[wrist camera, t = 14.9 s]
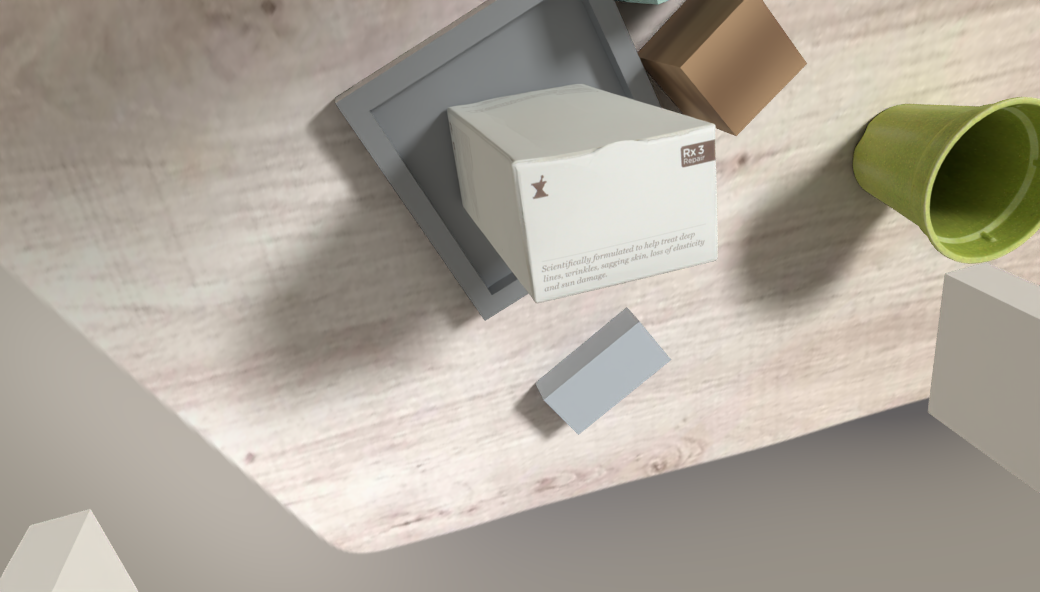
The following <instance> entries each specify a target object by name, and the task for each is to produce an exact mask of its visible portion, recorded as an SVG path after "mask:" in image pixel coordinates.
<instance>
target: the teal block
mask: <svg viewBox="0 0 1040 592" xmlns="http://www.w3.org/2000/svg"><path fill="white" fill-rule="evenodd" d="M614 1H620V2H633V3H646V4H661V3H663V2H665V1H668V0H614Z"/></svg>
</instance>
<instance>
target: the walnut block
mask: <svg viewBox="0 0 1040 592" xmlns="http://www.w3.org/2000/svg"><path fill="white" fill-rule="evenodd" d="M638 55H639V58H640V60H641V62H642V65H643V67H644V68H645V69H646V70H647V72H648V73H649V74H650V75H651V76H652V77H653V79H654V80H655V81H656V82H657V83H658V85H659V86H660V87H661V88H662V89H663V90H664V92H665V93H666V94H667V95H668V96H669V97H670V99H671V100H672V101H673V102H674V103H675V105H676V106H677V107H678V108H679V109H680V110H681V112H682V113H683V114H684V115H686V116H690V117H693V118H696V119H699V120H703V121H706V122H709V123H713V124H715V126H716V128H717V129H719V130H722V131H724V132H727V133H730V134H732V135H735V136H737V135H738V134H739V133H740V132H741V131H742V130H743V129H744V128H745V127H746V126H747V125H748V124H749V123H750V122H751V120H752V119H753V118H754V117H755V116H756V115H757V114H758V113H759V112H760V111H761V110H762V109H763V108H764V107H765V106H766V105H767V104H768V103H769V102H770V101H771V100H772V99H773V98H774V97H775V96H776V95H777V94H778V93H779V92H780V91H781V90H782V89H783V88H784V87H785V86H786V85H787V84H788V83H789V82H790V81H791V80H792V79H793V77H794V76H795V75H796V74H797V73H798V72H799V71H800V70H801V69H802V68H803V67H804V66H805V65H806V64H807V63H806V61H805V60H804V59H803V57H802V56H801V54H800V53H799V52H798V50H797V49H796V47H795V46H794V44H793V43H792V42H791V40H790V39H789V37H788V36H787V34H786V33H785V32H784V30H783V29H782V27H781V26H780V25H779V23H778V22H777V20H776V19H775V17H774V16H773V15H772V13H771V12H770V10H769V9H768V7H767V6H766V5H765V3H764V2H763V0H686V1H685V2H684V4H683V5H682V6H681V7H680V8H679V9H678V10H677V11H676V12H675V13H674V14H673V15H672V16H671V18H670V19H669V20H668V21H667V22H666V23H665V24H664V25H663V26H662V27H661V28H660V29H659V30H658V31H657V33H656V34H655V35H654V36H653V37H652V38H651V39H650V40H649V41H648V42H647V43H646V44H645V45H644V47H643V48H642V49H641V50H640V51H639V52H638Z"/></svg>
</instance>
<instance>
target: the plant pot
mask: <svg viewBox="0 0 1040 592" xmlns="http://www.w3.org/2000/svg"><path fill="white" fill-rule="evenodd" d="M853 170H854V175H855V178H856V180H857V182H858V183H859V185H860V186H861V187H862V188H863V189H864V190H865V191H866V192H868V193H869V194H871V195H872V196H874V197H875V198H877V199H879V200H880V201H882V202H883V203H885V204H886V205H888V206H889V207H891V208H893V209H894V210H896V211H897V212H899V213H900V214H902V215H903V216H904V217H906V218H907V219H909V220H910V221H912V222H913V223H915V224H916V225H918V226H919V227H920V229H921V230H922V231H923V233H924V234H925V235H927V237H928V238H929V240H930V242H931V244H932V245H933V246H934V247H935V249H936V250H937V251H939V252H940V253H941V254H942V255H944V256H946V257H947V258H949V259H952V260H954V261H957V262H961V263H968V264H973V263H982V262H987V261H991V260H995V259H997V258H1000V257H1002V256H1004V255H1006V254H1008V253H1010V252H1011V251H1013V250H1015V249H1016V248H1018V247H1019V246H1021V245H1022V244H1023V243H1025V242H1026V241H1027V240H1028V239H1029V238H1030V237H1032V236H1033V235H1034V234H1035V233H1036V231H1037V230H1039V229H1040V99H1037V98H1030V97H1016V98H1011V99H1006V100H1003V101H1000V102H997V103H994V104H988V105H983V106H980V107H979V106H951V105H923V104H901V105H896V106H893V107H890V108H888V109H886V110H885V111H883V112H881V113H880V114H879V115H877V116H876V117H875V118H874V119H873V120H872V121H871V122H870V123H869V124H868V126H867V129H866V131H865V133H864V135H863V137H862V139H861V140H860V142H859V143H858V145H857V146H856V148H855V151H854V156H853Z"/></svg>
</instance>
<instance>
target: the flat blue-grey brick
mask: <svg viewBox="0 0 1040 592" xmlns="http://www.w3.org/2000/svg"><path fill="white" fill-rule="evenodd" d="M670 360H671V359H670V358H669V357H668V355H667V354H666V353H665V352H664V351H663V349H662V348H661V347H660V346H659V345H658V343H657V342H656V341H655V340H654V339H653V337H652V336H651V335H650V334H649V332H648V331H647V330H646V329H645V328H644V326H643V325H642V324H641V323H640V322H639V320H638V319H637V318H636V317H635V316H634V315H633V314H632V312H631V311H630V310H629V309H628V308H625V309H624V310H623V311H622V312H621V313H619V314H618V315H617V316H616V317H614V318H613V319H612V320H611V321H610V322H608V323H607V324H606V325H605V326H604V327H602V328H601V329H600V330H599V331H598V332H596V333H595V334H594V335H593V336H591V337H590V338H589V339H588V340H587V341H585V342H584V343H583V344H582V345H581V346H579V347H578V348H577V349H576V350H575V351H573V352H572V353H571V354H570V355H568V356H567V357H566V358H565V359H564V360H562V361H561V362H560V363H559V364H558V365H556V366H555V367H554V368H553V369H552V370H550V371H549V372H548V373H547V374H545V375H544V376H543V377H542V378H541V379H539V380H538V381H537V382H536V383H535V384H536V386H537V388H538V390H539V392H540V394H541V396H542V398H543V400H544V401H545V402H546V403H547V404H548V405H549V406H550V407H551V408H552V409H553V410H554V411H555V412H556V413H557V414H558V415H559V416H560V417H561V418H562V419H563V420H564V421H565V422H566V423H567V424H568V425H569V426H570V427H571V428H572V429H573V430H574V431H575V432H576V433H577V434H578V435H579V434H580V433H581V432H582V431H584V430H585V429H586V428H587V427H589V426H590V425H591V424H592V423H594V422H595V421H596V420H597V419H599V418H600V417H601V416H602V415H604V414H605V413H606V412H607V411H608V410H610V409H611V408H612V407H613V406H615V405H616V404H617V403H618V402H620V401H621V400H622V399H623V398H625V397H626V396H627V395H628V394H629V393H631V392H632V391H633V390H634V389H636V388H637V387H638V386H639V385H641V384H642V383H643V382H644V381H646V380H647V379H648V378H649V377H651V376H652V375H653V374H654V373H655V372H657V371H658V370H659V369H660V368H662V367H663V366H664V365H665V364H667V363H668V362H669V361H670Z"/></svg>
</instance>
